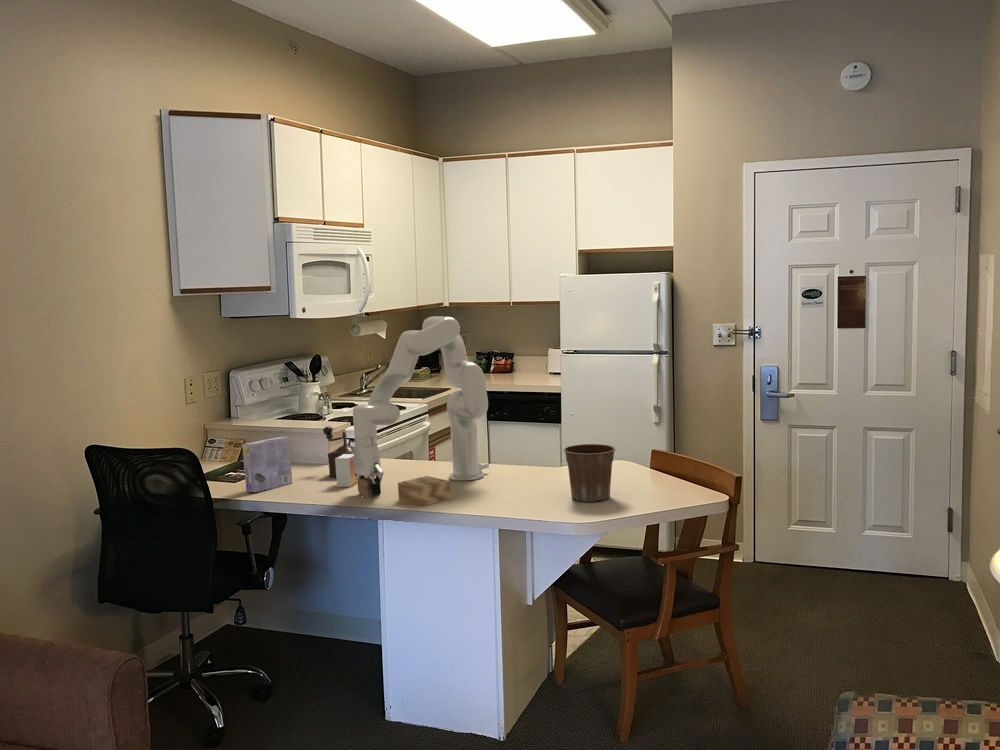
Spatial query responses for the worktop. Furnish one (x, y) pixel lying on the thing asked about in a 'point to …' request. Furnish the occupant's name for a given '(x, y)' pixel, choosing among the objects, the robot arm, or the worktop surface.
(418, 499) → the oak base
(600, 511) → the worktop surface
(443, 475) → the worktop surface
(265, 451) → the cake pan box
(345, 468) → the small box
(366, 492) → the walnut block
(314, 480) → the worktop surface
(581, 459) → the plant pot
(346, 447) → the manual coffee grinder
